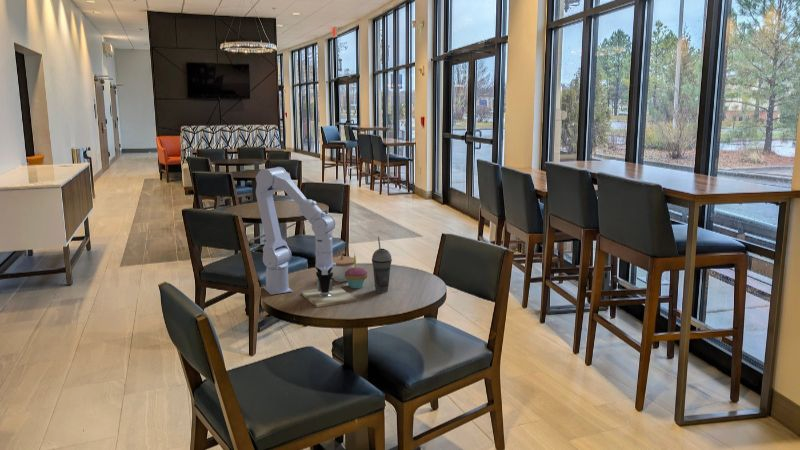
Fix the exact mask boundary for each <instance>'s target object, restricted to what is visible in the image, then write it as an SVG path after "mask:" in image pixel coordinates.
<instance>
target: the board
mask: <svg viewBox="0 0 800 450" xmlns="http://www.w3.org/2000/svg"><path fill="white" fill-rule="evenodd" d="M332 288H333V290H331V291H329V293H331V296H328V297H320V296H319V294H320V293H321V292H319V291H318V290H317V288H315V289H309V290H302V291H301V292H300V293H301V296H303V297H304V298H305V299H307V301H309V303H311V304H313V306H315V308H323V307H329V306H330V305H331V306H335V305H341V304H342V303H343V304H347V303H355V302H357V298H356V297H354V296H353V295H351V294H350V293H349V292H347V290H345V289H343V288H342V287H340V286H339V285H335V286H332Z"/></svg>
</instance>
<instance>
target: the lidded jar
mask: <svg viewBox="0 0 800 450" xmlns="http://www.w3.org/2000/svg"><path fill="white" fill-rule="evenodd" d="M333 263H336V266H333V267H332V270H331V272H330V273H333V276H332V277H331V278H333V280H334V281H336V282H348V281H347V279H346V278H345V272H346V271H347V270H348V269H350V268H354V256H345V255H343V254H342V255H340V256H333Z"/></svg>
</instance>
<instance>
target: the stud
mask: <svg viewBox="0 0 800 450" xmlns="http://www.w3.org/2000/svg"><path fill="white" fill-rule="evenodd" d="M319 296H320V297H328V296H331V293H329V291H328V292H321V293H320V294H319Z"/></svg>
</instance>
